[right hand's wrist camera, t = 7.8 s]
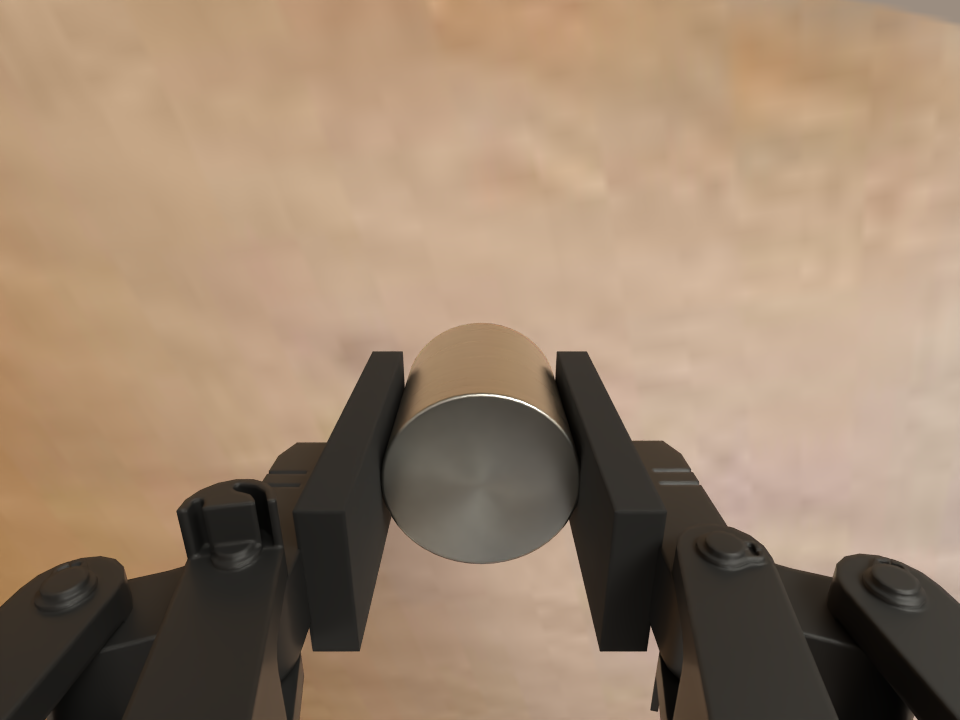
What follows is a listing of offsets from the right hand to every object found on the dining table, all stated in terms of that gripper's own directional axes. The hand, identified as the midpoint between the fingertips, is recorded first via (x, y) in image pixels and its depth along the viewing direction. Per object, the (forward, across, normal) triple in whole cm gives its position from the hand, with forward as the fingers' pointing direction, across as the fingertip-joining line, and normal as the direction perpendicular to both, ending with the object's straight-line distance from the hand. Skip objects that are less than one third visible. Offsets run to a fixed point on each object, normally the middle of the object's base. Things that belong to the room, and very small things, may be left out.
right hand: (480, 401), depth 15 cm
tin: (0, 0, 0) cm, 0 cm away
